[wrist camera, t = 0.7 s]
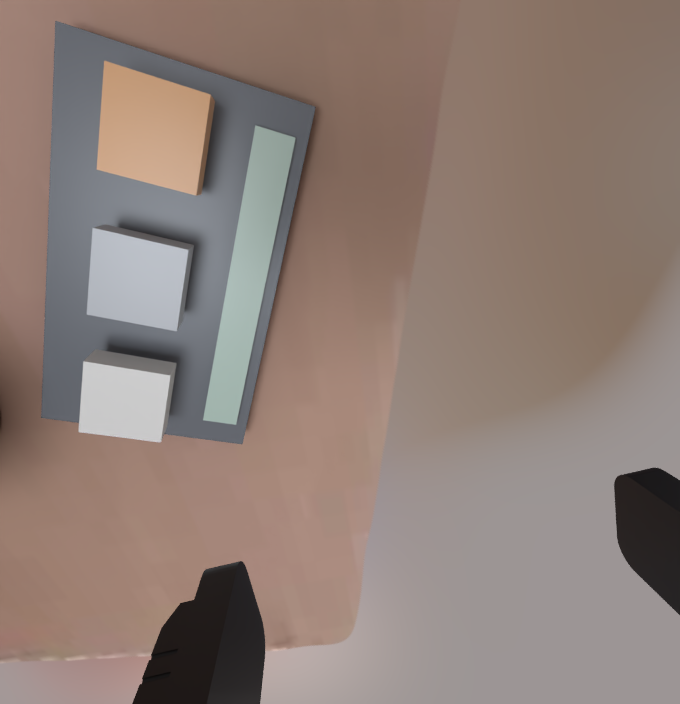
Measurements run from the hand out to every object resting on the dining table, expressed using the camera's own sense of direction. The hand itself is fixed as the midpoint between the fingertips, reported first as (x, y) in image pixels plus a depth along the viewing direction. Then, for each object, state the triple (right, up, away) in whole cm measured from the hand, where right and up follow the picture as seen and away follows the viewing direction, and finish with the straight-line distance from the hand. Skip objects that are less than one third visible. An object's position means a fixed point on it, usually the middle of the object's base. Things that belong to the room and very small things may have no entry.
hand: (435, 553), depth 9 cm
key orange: (-12, +16, +15) cm, 25 cm away
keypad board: (-14, +10, +21) cm, 27 cm away
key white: (-16, +2, +20) cm, 26 cm away
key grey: (-14, +9, +17) cm, 24 cm away
